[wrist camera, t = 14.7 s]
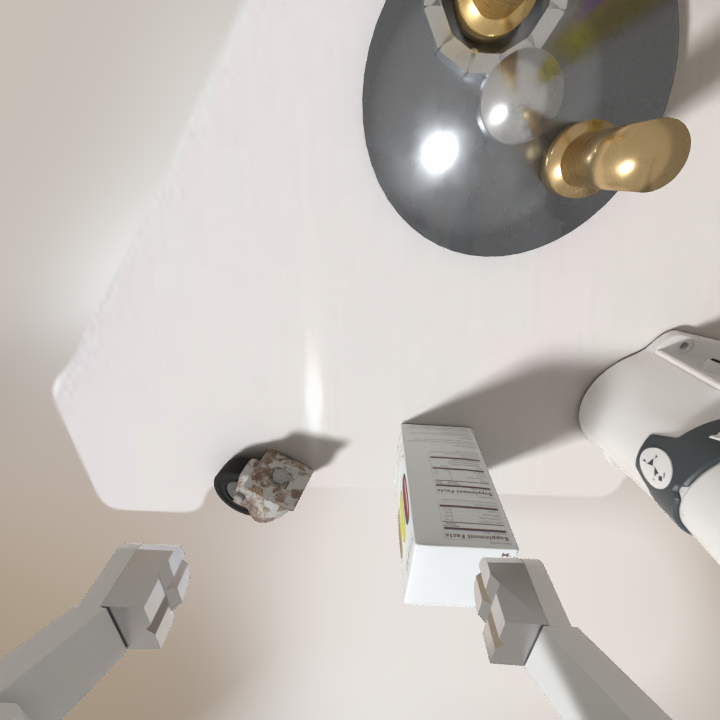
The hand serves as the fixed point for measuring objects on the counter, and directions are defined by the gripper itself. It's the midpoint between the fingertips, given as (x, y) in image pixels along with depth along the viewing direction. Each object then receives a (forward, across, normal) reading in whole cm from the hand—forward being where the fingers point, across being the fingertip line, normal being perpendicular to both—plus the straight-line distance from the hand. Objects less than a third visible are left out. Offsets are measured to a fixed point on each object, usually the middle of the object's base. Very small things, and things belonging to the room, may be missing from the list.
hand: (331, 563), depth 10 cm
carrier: (+31, -12, -15) cm, 37 cm away
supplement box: (+31, -10, +23) cm, 40 cm away
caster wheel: (+32, +13, +28) cm, 44 cm away
